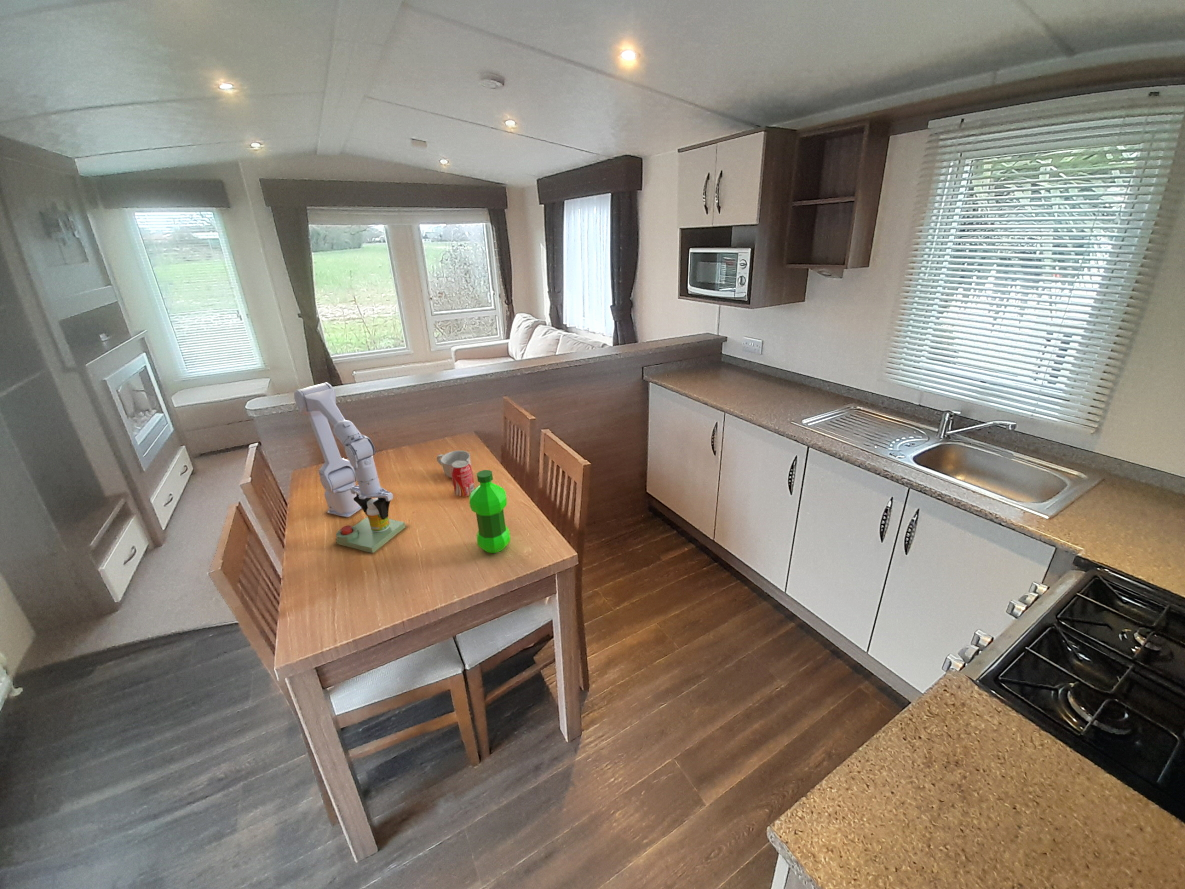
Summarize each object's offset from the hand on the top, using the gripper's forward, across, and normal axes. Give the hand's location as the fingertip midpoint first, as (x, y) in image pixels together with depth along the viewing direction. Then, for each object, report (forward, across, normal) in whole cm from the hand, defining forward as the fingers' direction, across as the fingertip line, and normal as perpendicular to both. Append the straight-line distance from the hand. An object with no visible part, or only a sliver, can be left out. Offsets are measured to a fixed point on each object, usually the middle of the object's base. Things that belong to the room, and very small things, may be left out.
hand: (377, 516), depth 147 cm
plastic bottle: (+7, +38, +5) cm, 39 cm away
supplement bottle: (+5, 0, 0) cm, 5 cm away
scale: (+6, -2, -2) cm, 7 cm away
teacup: (+6, -1, +40) cm, 41 cm away
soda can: (+6, +11, +29) cm, 32 cm away
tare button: (+3, -6, -7) cm, 10 cm away
